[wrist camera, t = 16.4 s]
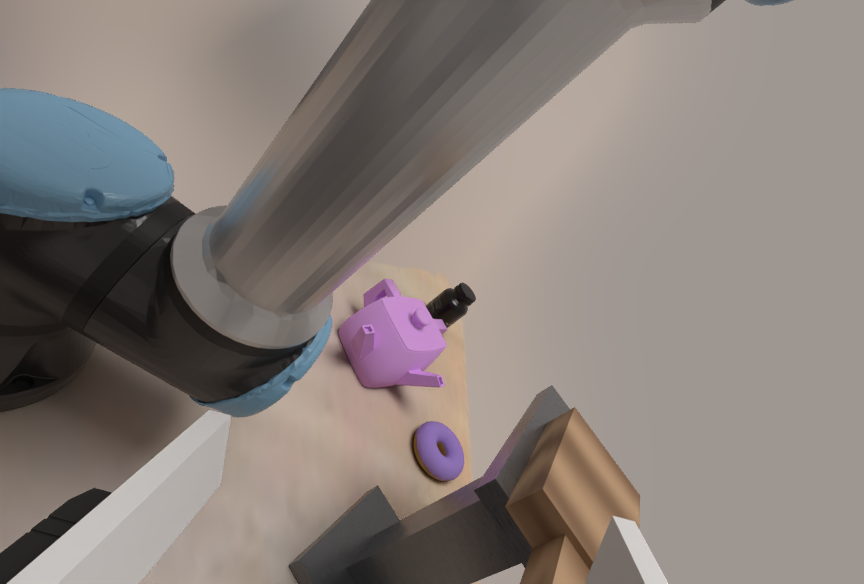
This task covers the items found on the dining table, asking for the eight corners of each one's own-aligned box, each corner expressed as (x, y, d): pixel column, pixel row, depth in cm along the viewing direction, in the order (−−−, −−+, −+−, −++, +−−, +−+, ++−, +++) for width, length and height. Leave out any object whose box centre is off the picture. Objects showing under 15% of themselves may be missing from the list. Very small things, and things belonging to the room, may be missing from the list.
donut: (412, 476, 63) (434, 456, 62) (401, 427, 70) (420, 408, 69) (458, 493, 68) (479, 475, 67) (443, 446, 76) (462, 428, 74)
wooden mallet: (548, 1012, 14) (633, 1025, 12) (391, 732, 15) (451, 718, 14) (609, 508, 38) (639, 495, 37) (548, 422, 40) (574, 407, 39)
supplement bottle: (436, 341, 92) (477, 310, 87) (414, 319, 91) (454, 286, 86) (441, 326, 98) (480, 296, 93) (421, 305, 97) (459, 273, 92)
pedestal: (344, 732, 38) (620, 663, 26) (265, 587, 41) (486, 465, 29) (439, 573, 56) (629, 491, 44) (380, 479, 58) (546, 377, 47)
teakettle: (414, 350, 84) (459, 314, 79) (406, 419, 70) (461, 381, 65) (346, 299, 78) (390, 257, 73) (322, 363, 64) (375, 317, 59)
